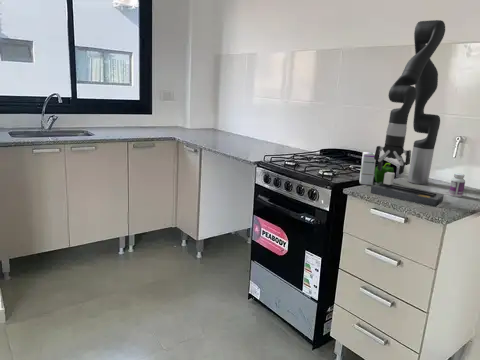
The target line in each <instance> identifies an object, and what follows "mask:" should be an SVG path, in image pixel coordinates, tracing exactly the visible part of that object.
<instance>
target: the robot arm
mask: <svg viewBox="0 0 480 360" xmlns="http://www.w3.org/2000/svg"><path fill="white" fill-rule="evenodd" d="M414 27H415V28H414V33H413V37H414V38H413V41H414V51H415V52H414V53H415V54H414V55H413V56H412V57H411V58H410V59H409V60H408V61H407V63H406V65H405V67H404V68H403V69H404V70H402V73H401V75H400V76H399V77H398V78H397V80H396V81H394V83H393V84H392V85H391V87H390V89H389V90H388V96H387V97H388V99H389V101H390V102H391V103H396V104H397V103H398V104H402V106H401V107H399V108H397V107H396V108H393V109H391V110H390V113H389V120H388V123H387V127H386V135H385V139H384V140H385V141H384V146H382V145H376V148H375V152H374V153H375V157H374V159H375V160H376V162H377V166H378V167H377V168H378V170H379V171H381V170H382V166H384V165H383V164H384V162H383V161H384V160H385V159H386V158H387V159H394V160H397V162H398V163H399V170H398V175H402V174H403V173H404V171H405V166H408V165H409V171H408V175H407V182H409V183H412V184H415V185H428V184H429V179H430V173H431V170H432V169H431V168H432V165H433V164H432V163H433V157H434V151H435V146H436V143H437V140H438V139H437V137H438V133H439V130H440V126H441V117H440V115H438V114H431V113H425V108H426V105H427V103H428V101H429V100H430V99H431V98H432V97H433V96H434V94H435V93H436V91H437V89H438V82H439V81H438V80H439V72H438V69H437V67H436V65H435V64H434V63H433V61H432V60H431V58H432V56H433V54H434V53H436V50H437V48H438V47H439V45H440V44H441V42H442V41H443V39H444V37H445V33H446V23H445V21H443V20H439V19H436V20H435V19H434V20H420V21H417V23H416V24H415V26H414ZM414 102H415V103H414ZM413 105H414V113H413V122H412V123H413V125H412V126H413V127H412V128H413V131H414V132H416V133H418V134H426V135H427V136H426V137H425V138H422V139H417V140H414V142H413V146H412V151H411V149H408V150H406V149H404V148H405V147H404V146H405V142H406V135H407V129H408V127H407V126H408V120H409V119H408V118H409V116H410V115H409V114H410V112H411V110H412V107H413ZM382 151H383V154H382V155H380V154H381V152H382ZM403 154H404V155H405V160H404V158H403V156H402V155H403Z"/></svg>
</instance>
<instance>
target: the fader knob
mask: <svg viewBox="0 0 480 360" xmlns="http://www.w3.org/2000/svg"><path fill="white" fill-rule="evenodd" d="M395 174H396V173H395V172H393V173H391V172H387V173H385V175H384V182H383V184H386V185H389V186H390V185H391V184H394V182H395V181H394V180H395Z"/></svg>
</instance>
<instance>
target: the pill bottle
mask: <svg viewBox="0 0 480 360" xmlns="http://www.w3.org/2000/svg"><path fill="white" fill-rule="evenodd" d="M464 178H465V174H463V173H457V172H455V173H454V174H453V177H452V178H451V181H450V185H449V191H448V195H449V196H451V197H456V198H461V197H463V195H464V190H465V184H466V180H465V179H464Z"/></svg>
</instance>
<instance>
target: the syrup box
mask: <svg viewBox="0 0 480 360" xmlns="http://www.w3.org/2000/svg"><path fill="white" fill-rule="evenodd" d="M374 157H375V152H370V151H362V156H361V165H360V170H359V171H360V172H359V180H358V181H359V184H360V185H364V186H365V185H366V186H373V185H374V179H375V168H376V162H377V160H375V159H374Z"/></svg>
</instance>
